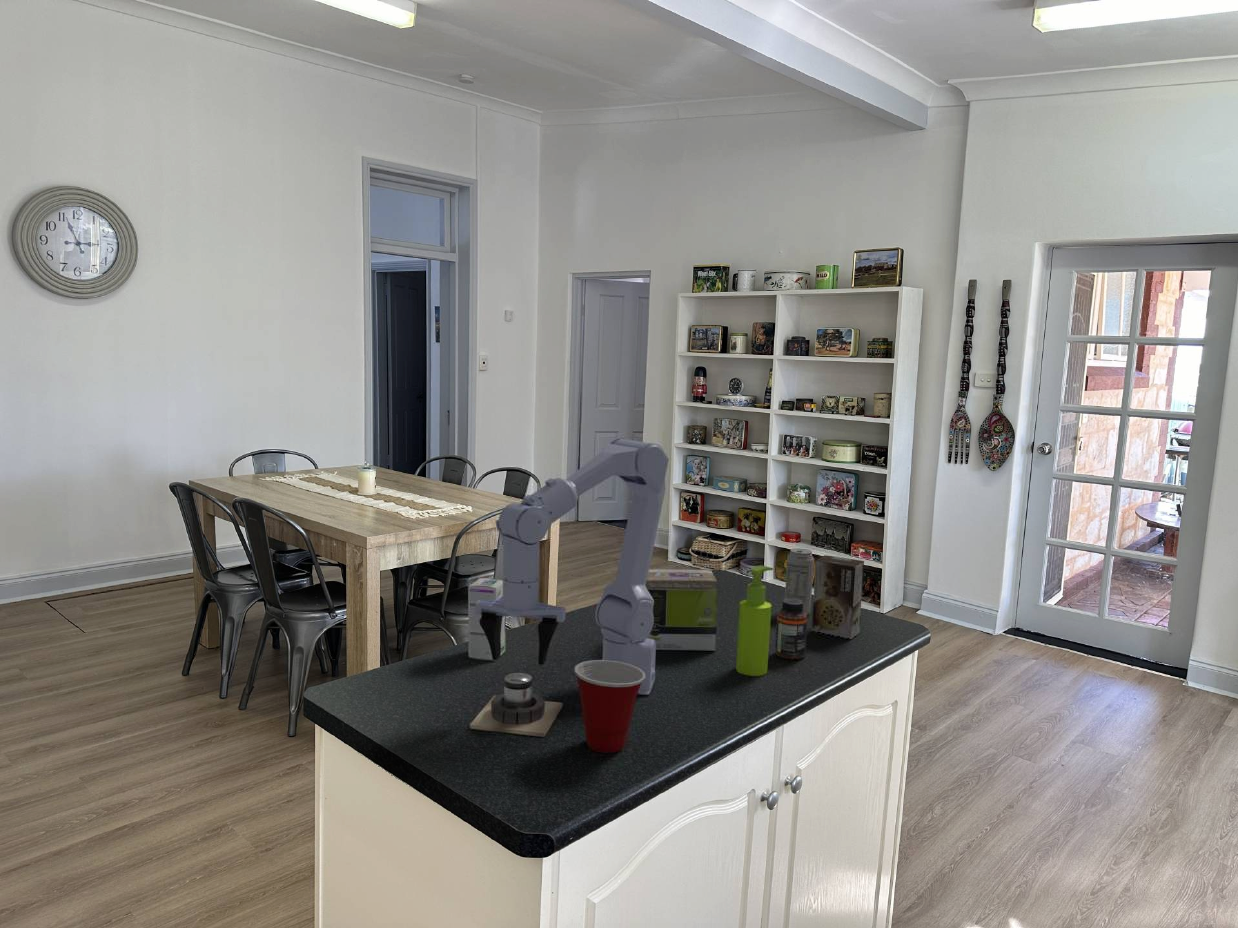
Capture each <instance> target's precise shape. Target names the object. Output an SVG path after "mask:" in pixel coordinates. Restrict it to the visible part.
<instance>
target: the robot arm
mask: <svg viewBox="0 0 1238 928" xmlns="http://www.w3.org/2000/svg"><path fill="white" fill-rule="evenodd" d="M668 464H669V458H668V456H667V454H666V453H665V451H664V449H663V447H662V446H661V445H660V444H658V443H656V442H645V441H640V440H632V439H626V438H625V437H616V438H614V439H612V440H611V441H610V442H609V443H606V444H604V445H603V446H602V448H601V451H600V452H599V453H598V454H596V455H595V456H594V457H593V458H592V459H591V460H588V462H586V463H585V464H584V465H583V466H582V467H580V468H579V469H578V470H577V471H575V472H574V473H573V474H571V475H569V477H567V478H565V479H563V478H560V477H557V478H556V477H555V478H549V479H547V480H545V481H544V483H545V485H543V486H542V487H541V488H539V489H537V490H536V491H534V492H533V493H532V494H530V495H529V494H526V495H525V496H523V500H522V501H520V502H511V503H509V504H507V505H505V507H503V509H501V512H500V513H499V517H498V520H497V519H496V520H495V526H496V529H497V532H498V533H499V534H500V536H501V545H502V546H503V551H502V552H503V553H502V580H503V600H479V601H477V602H476V603H475V615H482V616H481V619H480V620H479V623H480V626H481V627H482V629H483V631H484V633H485V635H486V637H487V640H488V642H489V646H490V649H491V653H492V659H493V660H492V661H494V660H496V661H498V659H500V657H501V656H500V654H501V625H502V617H503V616H506V617H514V618H522V619H523V618H525V619H534V620H535V619H537V620H541V621H540V622H539V623H538V624H537V630H538V631H537V632H538V644H539V645H538V657H537V659H538V660H537V661H538V665H541V666H542V665H544V664H545V663H546V661H547V655H548V651H549V647H550V644H551V641H552V639H553V636H554V633H555V632H556V630H557V627H558V625H559V624H560V623H563V622H564V621H565V620H566V608H567V607H565V606H556V605H552V604H548V603H543V602H539V591H540V590H539V589H540V587H539V583H540V581H539V580H540V541H542V540H544V538H545V536H546V535H547V532H548V530H549V528H550V526H552V524H553V523H555V522H556V521H558V520H559V519H560V518H562V517H563V516H565V515H566V514H568V513H569V512H570V511H572V510H573V509H575V508H576V507H577V504H578V497H580V496H582V495H583V494H585V493H586V492H588V491H590V490H592V488H595V487H596V486H598V485H599V484H601V483H603V482H605V481H606V480H608V479H609V478H611V477H613V476H615V477H618V478H619V479H620V480H622V481H623V482H625V484H626V485H627V487H628V489H629V490H630V491H631V493H632V498H631V503H630V507H629V508H630V509H629V512H628V517H627V523H626V527H625V532H624V538H623V541H622V546H621V550H620V551H621V552H620V555H619V561H618V565H617V570H616V576H615V579H614V580H613V581H612V582H611V583H608V585H606V586H605V587H604V588H603V593H602V596H601V599H600V600H599V602H598V603H597V606H596V608H595V613H594V616H595V617H594V618H595V621H596V623H597V625H598V626H599V627H600V628H601V630H600V632H601V634H602V635H603V639H602V640H603V641H602V660H608V661H617V662H622V663H626V664H630V665H632V666H635V667H637V668H639V669H641V670H642V671H643V672H644V673H645V680H644V681H643V682H642V683H641V685H640V689H639V690H638V694H637V695H643V696H644V695H645V696H649V695H650V693H651V691H652V688H653V686H654V682H655V679H656V670H655V669H656V653H657V652H656V651H657V650H656V642H655V640H653V639H649V638H646V637H647V636H648V635H649V634H650V632H651V630H652V627H653V624H654V616H653V605H654V600H653V598H652V596H651V595H650V593H649V592H648V590H647V588H646V581H647V576H648V571H649V569H650V566H651V561H652V556H653V552H654V551H653V550H654V547H655V542H656V538H657V533H658V527H659V523H660V517H661V513H662V508H663V503H664V499H665V495H666V493H665V492H666V475H667V469H668Z"/></svg>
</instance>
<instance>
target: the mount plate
mask: <svg viewBox="0 0 1238 928" xmlns="http://www.w3.org/2000/svg"><path fill="white" fill-rule="evenodd" d="M562 708H563V702H559V701H558V702H557V701H546V700H544V698H543V696H541V695H539V694H536V693H534V692H532V698H531V707H530V708H528V709H519V710H516V709H508V708H505V707H504V692H503V693H500V694H498V695H492V698H491V699H490V700H489V701H488V702H487V703H486V705H485V706H484V707H483V709H481V711H480V712H479V713H478V714H477V715H476V717H475V718H474V719H473V720H472V721H471V723H470V724H469V729H472V730H481V731H488V732H489V731H490V732H498V733H506V734H514V735H515V734H516V735H523V736H524V735H525V736H533V737H542V738H545V736H546V735H547V733H548V731H549V729H550V727H551V726H552V724H553V722H554V721H555V720H556V718H557V716H558V715H559V713H560V711H561V710H562Z"/></svg>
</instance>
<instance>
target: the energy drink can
mask: <svg viewBox="0 0 1238 928" xmlns="http://www.w3.org/2000/svg"><path fill="white" fill-rule="evenodd" d="M812 553H813V552H812V550H810V549H806V548H791V549H790V552H789V554H787V558H786V570H785V571H786V572H785V589H784V590H785V591H784V599H788V598H792V599H798V600H801V601H803V611H804V612H805V613H806V614H807V615H808V616H809V614H810V613H811V608H812V607H811V606H812V594H813V592H812V591H813V581H814V580H813V578H814V566H815V565H814V564H815V557H814V556H813V554H812Z"/></svg>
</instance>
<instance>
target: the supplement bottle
mask: <svg viewBox="0 0 1238 928" xmlns="http://www.w3.org/2000/svg"><path fill="white" fill-rule="evenodd" d="M807 628H808V616H807V614H806V613H805V612H804V611H803V601H801V600H798V599H792V598H788V599H785V598H784V599H783V600H782V607H781V609H779V610H778V611H777V614H776V629H775V630H776V632H775V646H774V647H775V648H774V649H775V655H776V656H777V657H778V658H780V659H781V658H782V659H785V660H789V659H791V660H790V661H793V660H794V659H796V660H801V659H803V658H804V657H805V656H806V647H807V646H806V645H807V644H806V643H807V641H806V640H807V630H808V629H807ZM794 661H795V660H794Z"/></svg>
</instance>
